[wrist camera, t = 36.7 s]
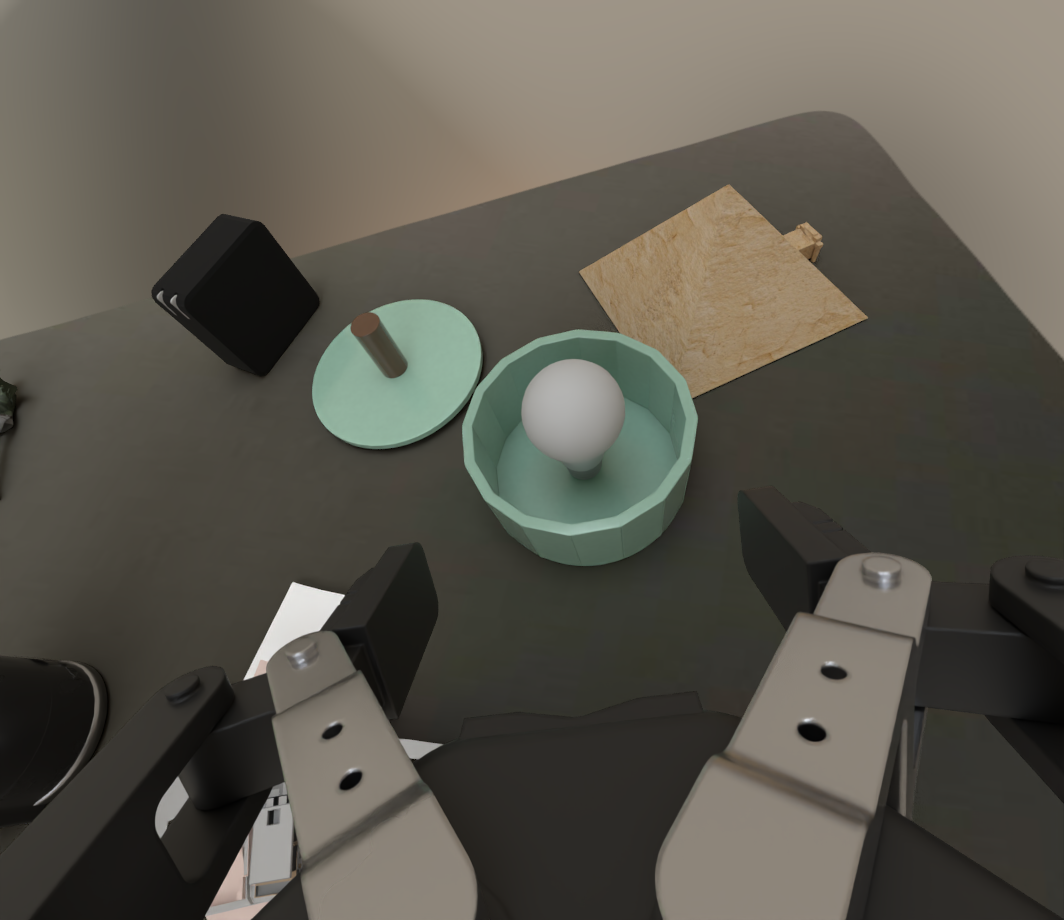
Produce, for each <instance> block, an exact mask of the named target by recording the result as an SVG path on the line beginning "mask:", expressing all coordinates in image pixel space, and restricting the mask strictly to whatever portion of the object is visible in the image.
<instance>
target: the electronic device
mask: <svg viewBox="0 0 1064 920" xmlns="http://www.w3.org/2000/svg"><path fill="white" fill-rule="evenodd" d="M152 298H153V299H154V300H155V302H156V303H157V304H158V305H159V306H161V307H162V308H163V309H164V310H165V311H166V312H168V313H169V314H170V315H171V316H172V317H173V318H175V319H176V320H177V321H178V322H179V323H180V324H182V325H183V326H184V327H185V328H186V329H187V330H189V331H190V332H191V333H192V334H193V335H194V336H196V337H197V338H198V339H199V340H200V341H201V342H203V343H204V344H205V345H206V346H207V347H208V348H210V349H211V350H212V351H213V352H214V353H215V354H216V355H218V356H219V357H220V358H221V359H222V360H223V361H225V362H226V363H227V364H229V365H232V366H234V367H237V368H240V369H243V370H246V371H248V372H251V373H254V374H257V375H259V376H262V375H266V374H267V373H268V372H269V371H270V370H271V368H272V367H273V366H274V364H275V363H276V362H277V360H278V359H279V358H280V356H281V355H282V354H283V353H284V351H285V350H286V349H287V347H288V346H289V345H290V343H291V342H292V341H293V339H294V338H295V337H296V335H297V334H298V333H299V332H300V330H301V329H302V328H303V326H304V325H305V324H306V322H307V321H308V320H309V318H310V317H311V316H312V314H313V313H314V312H315V310H316V309H317V307H318V305H319V298H318V295H317V294H316V292H315V291H314V290H313V288H312V287H311V286H310V285H309V283H308V282H307V281H306V279H305V278H304V277H303V275H302V274H301V273H300V271H299V270H298V269H297V267H296V266H295V265H294V264H293V262H292V261H291V260H290V258H289V257H288V256H287V254H286V253H285V252H284V250H283V249H282V248H281V246H280V245H279V244H278V243H277V241H276V240H275V239H274V238H273V236H272V235H271V233H270V232H269V231H268V229H267V228H266V227H265V225H263V224H262V223H261V222H259V221H254V220H250V219H245V218H240V217H235V216H231V215H226V214H221V215H220V216H218V217H217V218H216V219H215V220H214V221H213V222H212V223H211V224H210V226H209V227H208V228H207V229H206V230H205V231H204V232H203V233H202V234H201V236H199V238H198V239H197V240H196V241H195V242H194V243H193V244H192V245H191V246H190V247H189V248H188V249H187V251H186V252H185V253H184V254H183V255H182V256H181V257H180V258H179V259H178V260H177V261H176V263H174V265H173V266H172V267H171V268H170V269H169V270H168V271H167V272H166V273H165V274H164V275H163V277H162V278H161V279H160V280H159V281H158V282H157V283H156V284H155V285H154V287H153V289H152Z"/></svg>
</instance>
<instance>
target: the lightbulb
mask: <svg viewBox="0 0 1064 920" xmlns="http://www.w3.org/2000/svg"><path fill="white" fill-rule="evenodd" d="M521 416H522V423H523V426H524V429H525V431H526V434H527V436H528V438H529V439H530V441H531V442H532V444H533V445H534V446H535V447H536V448H537V449H539V450H540V451H541V452H542V453H543V454H545V455H546V456H548V457H550V458H552V459H555V460H558V461H561V462H562V463H563V464H564V465H565V466H566V467H567V469H568V471H569V473H570V474H571V475H572V476H573V477H575V478H577V479H580V480H587V479H591V478H593V477H595V476H596V475H597V474H598V473H599V471H600V469H601V466H602V458H603V456H604V452H605V451H607V450H608V449H609V448H610V447H611V446H612V445H613V444H614V442H615V441H616V439H617V438H618V436H619V434H620V432H621V429H622V427H623V424H624V419H625V401H624V397H623V394H622V391H621V389H620V387H619V385H618V383H617V382H616V380H615V379H614V378H613V377H612V376H611V375H610V374H609V372H608V371H606V370H605V369H604V368H602V367H601V366H599V365H597V364H595V363H592V362H589V361H586V360H581V359H566V360H562V361H558V362H555V363H553V364H550V365H549V366H547V367H545V368H544V369H542V370H541V371H540V372H539V373H538V374H537V375H536V376H535V377H534V378H533V379H532V380H531V382H530V383H529V385H528V387H527V389H526V391H525V394H524V397H523V401H522V409H521Z"/></svg>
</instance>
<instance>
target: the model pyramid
mask: <svg viewBox="0 0 1064 920" xmlns="http://www.w3.org/2000/svg"><path fill="white" fill-rule="evenodd" d="M820 240H822V236H821V235H820V234H818V232H817V231H816V230H815V229H813V228H812V227H811V226H810V225H809V224H808V223H807V222H806V223H804V224H801V225H798V226H797V227H796V230H795V231H793V232H790V233H787V234H786V235H782V234H781V233H780V232H779V231H777V230H776V229H775V228H774V227H773V226H772V225H771V224H770V223H769V222H768V221H767V220H766V219H765V218H764V217H763V216H762V215H761V214H760V213H759V212H758V211H757V210H756V209H755V208H754V207H753V206H751V205H750V204H749V203H748V202H747V201H746V200H745V199H744V198H743V197H742V196H741V195H740V194H739V193H738V192H737V191H736V190H734V189H733V188H732V187H731V186H730V185H729V184H728V185H727V186H725V187H723V188H721V189H720V190H718V191H716V192H715V193H713V194H711V195H709V196H708V197H706V198H704V199H703V200H701V201H699V202H697V203H696V204H694V205H692V206H691V207H689V208H687V209H685V210H684V211H682V212H680V213H679V214H677V215H675V216H673V217H672V218H670V219H668V220H667V221H665V222H663V223H661V224H660V225H658V226H656V227H655V228H653V229H651V230H649V231H648V232H646V233H644V234H643V235H641V236H639V237H637V238H636V239H634V240H632V241H631V242H629V243H627V244H625V245H624V246H622V247H620V248H619V249H617V250H615V251H613V252H612V253H610V254H608V255H607V256H605V257H603V258H601V259H600V260H598V261H596V262H595V263H593V264H591V265H589V266H588V267H586V268H584V269H583V270H581V271H579V273H580V274H581V276H582V277H583V279H584V280H585V282H586V283H587V285H588V286H589V288H590V289H591V291H592V292H593V294H594V295H595V297H596V298H597V300H598V301H599V303H600V304H601V306H602V307H603V309H604V310H605V312H606V313H607V315H608V316H609V318H610V319H611V321H612V322H613V324H614V325H615V327H616V328H617V329H618V331H619V332H620V333H621V334H623V335H626V336H628V337H630V338H632V339H634V340H637V341H639V342H641V343H643V344H645V345H648V346H650V347H652V348H654V349H656V350H658V351H659V352H660V353H661V354H662V355H663V356H664V357H665V358H666V359H667V360H668V361H669V363H670V364H671V365H672V366H673V367H674V368H675V369H676V370H677V371H678V372H679V373H680V374H681V375H682V376H683V377H684V378H685V380H686V382H687V385H688V388H689V391H690V394H691V397H692V398H694V397H696V396H698V395H700V394H702V393H705V392H707V391H709V390H711V389H713V388H716V387H718V386H720V385H722V384H724V383H727V382H729V381H731V380H733V379H735V378H737V377H740V376H742V375H744V374H746V373H748V372H751V371H753V370H755V369H757V368H759V367H762V366H764V365H766V364H768V363H770V362H773V361H775V360H777V359H779V358H781V357H784V356H786V355H788V354H790V353H792V352H795V351H797V350H799V349H801V348H803V347H805V346H808V345H810V344H812V343H814V342H816V341H819V340H821V339H823V338H825V337H827V336H830V335H832V334H834V333H836V332H838V331H841V330H843V329H845V328H847V327H849V326H852V325H854V324H856V323H858V322H860V321H862V320H865V319H867V318H868V317H867V316H866V315H865V314H864V313H863V312H862V311H861V310H860V309H859V308H857V307H856V306H855V305H854V304H853V303H852V302H851V301H850V300H849V299H848V298H847V297H846V296H845V295H844V294H843V293H842V292H841V291H840V290H839V289H838V288H837V287H836V286H835V285H834V284H833V283H831V282H830V281H829V280H828V279H827V278H826V277H825V276H824V275H823V274H822V273H821V272H820V271H819V270H818V269H817V268H816V267H815V266H814V265H813V264H812V263H811V262H815V261H816V258H817V256H818V254H819V251H820V249H821V248H822V246H823V243H822V242H820ZM810 258H811V260H810V261H811V262H810V261H809V260H808V259H810Z"/></svg>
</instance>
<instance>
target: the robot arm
mask: <svg viewBox="0 0 1064 920" xmlns="http://www.w3.org/2000/svg"><path fill="white" fill-rule="evenodd" d="M738 511H739V522H740V533H741V544H742V553H743V558H744V562H745V565H746V568H747V571H748V573H749V575H750V577H751V578H752V580H753V581H754V583H755V584H756V586H757V587H758V589H759V590H760V592H761V593H762V595H763V596H764V598H765V599H766V601H767V602H768V604H769V606H770V607H771V609H772V610H773V612H774V613H775V615H776V616H777V618H778V619H779V621H780V622H781V624H782V625H783V627H784V628H785V630H786V631H787V632H786V634H785V636H784V638H783V640H782V642H781V644H780V646H779V648H778V650H777V651H776V653H775V655H774V657H773V659H772V661H771V663H770V665H769V667H768V669H767V671H766V673H765V675H764V677H763V679H762V681H761V683H760V685H759V687H758V688H757V690H756V692H755V694H754V696H753V698H752V700H751V702H750V704H749V706H748V708H747V710H746V712H745V714H744V716H743V718H740V717H737V716H733V715H730V714H726V713H720V712H715V711H708V710H703V708H702V705H701V702H700V699H699V696H698V693H697V691H693V692H684V693H676V694H667V695H659V696H650V697H642V698H636V699H633V700H630V701H627V702H624V703H621V704H618V705H615V706H612V707H609V708H605V709H602V710H599V711H596V712H593V713H590V714H587V715H584V716H580V717H566V716H556V715H545V714H535V713H525V712H514V713H506V714H497V715H488V716H480V717H471V718H464V721H463V726H462V730H461V734H460V738H458V739H455V740H453V741H450V742H448V743H446V744H444V745H441V746H439V747H438V748H436V749H434V750H432V751H430V752H429V753H427V754H425V755H424V756H422V757H421V758H420V759H418V760H417V761H415V762H414V763H413V764H412V762H411V760H410V758H409V756H408V755H407V753H406V751H405V749H404V747H403V746H402V744H401V742H400V740H399V738H398V736H397V735H396V733H395V731H394V729H393V727H392V726H391V724H390V722H389V720H390V719H398V718H399V715H400V713H401V710H402V708H403V705H404V702H405V700H406V697H407V695H408V692H409V690H410V687H411V684H412V682H413V679H414V677H415V674H416V672H417V669H418V667H419V664H420V661H421V659H422V656H423V654H424V651H425V649H426V646H427V644H428V641H429V638H430V636H431V633H432V631H433V628H434V626H435V623H436V620H437V617H438V599H437V594H436V590H435V587H434V584H433V580H432V577H431V574H430V570H429V567H428V564H427V560H426V557H425V553H424V550H423V548H422V546H421V545H420V544H419V543H418V542H416V543H409V544H403V545H397V546H391V547H389V548H388V549H387V550H386V552H385V553H384V554H383V556H382V557H381V559H380V560H379V562H378V563H377V565H376V566H375V567H374V568H371V569H370V570H368V571H367V572H366V573H365V574H363V575H362V576H361V577H359V578H358V579H357V580H356V581H355V582H354V584H353V585H352V587H351V588H350V589H349V591H348V592H347V593H348V594H347V595H345V596H344V598H343V599H342V600H341V602H340V605H338V606H337V607H336V609H335V610H334V611H333V613H332V614H331V615H330V617H329V618H328V620H327V621H326V622H325V624H324V625H323V626H322V628H321V629H320V631H317V632H312V633H309V634H306V635H303V636H301V637H298V638H296V639H294V640H292V641H291V642H289V643H287V644H286V645H284V646H283V647H282V648H280V649H279V650H278V651H277V652H276V653H275V654H274V655H273V656H272V657H271V658H270V660H269V661H268V663H267V666H266V673H264V674H261V675H258V676H255V677H252V678H249V679H246V680H243V681H240V682H238V683H235V684H232V685H231V684H230V682H229V680H228V678H227V675H226V673H225V671H224V670H223V668H221V667H217V666H210V667H204V668H200V669H197V670H194V671H191V672H189V673H187V674H185V675H182V676H180V677H179V678H177V679H175V680H173V681H172V682H170V683H168V684H167V685H166V686H164V687H163V688H161V689H160V690H159V691H158V692H156V693H155V694H154V695H153V696H152V697H151V698H150V699H149V700H148V701H147V702H146V703H145V704H144V705H143V707H142V708H141V709H140V710H139V711H138V712H137V713H136V714H135V715H134V716H133V717H132V718H131V719H130V720H129V721H128V722H127V723H126V724H125V725H124V726H123V727H122V728H121V729H120V730H119V732H118V733H117V734H116V735H115V736H114V737H113V738H112V739H111V740H110V741H109V742H108V743H107V744H106V745H105V746H104V747H103V748H102V749H101V750H100V751H99V752H98V753H97V754H96V755H95V757H94V758H93V759H92V760H91V761H90V762H89V763H88V761H89V760H90V758H91V756H92V755H93V753H94V751H95V749H96V747H97V744H98V742H99V740H100V737H101V734H102V731H103V728H104V724H105V720H106V714H107V692H106V688H105V684H104V682H103V679H102V677H101V676H100V674H99V673H98V672H97V671H96V670H95V669H94V668H93V667H91V666H90V665H88V664H85V663H82V662H75V661H56V660H38V659H28V658H19V657H8V656H0V828H1V827H7V826H13V825H19V824H24V823H30V822H31V823H30V824H29V825H28V826H27V827H26V828H25V829H24V831H23V832H22V833H21V834H20V835H19V836H18V837H17V838H16V839H15V840H14V841H13V842H12V843H11V844H10V845H9V846H8V847H7V848H6V849H5V850H4V851H3V852H2V853H1V855H0V920H203V919H204V917H205V915H206V913H207V912H208V910H209V908H210V906H211V904H212V902H213V900H214V898H215V896H216V895H217V893H218V891H219V889H220V887H221V885H222V883H223V881H224V880H225V878H226V876H227V874H228V872H229V870H230V868H231V866H232V864H233V863H234V861H235V859H236V857H237V855H238V853H239V851H240V849H241V848H242V846H243V844H244V842H245V840H246V838H247V836H248V834H249V832H250V831H251V829H252V827H253V825H254V823H255V821H256V819H257V817H258V816H259V814H260V812H261V810H262V808H263V806H264V804H265V802H266V800H267V799H268V797H269V795H270V793H271V790H272V788H273V787H274V786H276V785H279V784H281V783H284V782H285V785H286V790H287V795H288V799H289V804H290V808H291V813H292V818H293V822H294V827H295V832H296V836H297V841H298V845H299V850H300V855H301V860H302V868H301V870H300V872H299V873H298V874H297V875H296V876H295V877H294V878H293V879H292V880H291V881H290V882H289V883H288V884H287V885H286V886H285V887H284V888H283V889H282V890H281V891H280V892H279V893H278V894H277V895H276V896H274V897H273V898H272V899H271V900H270V901H269V902H268V903H267V904H266V905H265V906H264V907H263V908H262V909H261V910H260V911H259V912H258V913H257V914H256V915H255V916H254V917H253V918H252V919H251V920H1064V919H1063V918H1061V917H1059V916H1058V915H1056V914H1055V913H1053V912H1052V911H1050V910H1049V909H1047V908H1045V907H1044V906H1042V905H1041V904H1039V903H1038V902H1036V901H1035V900H1033V899H1032V898H1030V897H1028V896H1027V895H1025V894H1024V893H1022V892H1021V891H1019V890H1018V889H1016V888H1015V887H1013V886H1011V885H1010V884H1008V883H1007V882H1005V881H1004V880H1002V879H1001V878H999V877H997V876H996V875H994V874H993V873H991V872H990V871H988V870H987V869H985V868H984V867H982V866H980V865H979V864H977V863H976V862H974V861H973V860H971V859H970V858H968V857H967V856H965V855H963V854H962V853H960V852H959V851H957V850H956V849H954V848H953V847H951V846H950V845H948V844H946V843H945V842H943V841H942V840H940V839H939V838H937V837H936V836H934V835H932V834H931V833H929V832H928V831H926V830H925V829H923V828H922V827H920V826H919V825H917V824H915V823H914V822H912V813H913V802H914V793H915V786H916V780H917V774H918V768H919V761H920V755H921V749H922V742H923V736H924V730H925V724H926V717H927V707H928V708H936V709H944V710H952V711H960V712H968V713H976V714H984V715H985V716H986V718H987V719H988V720H989V721H990V722H991V724H992V725H993V726H994V727H995V728H996V729H997V730H998V731H999V732H1000V733H1001V735H1002V736H1003V737H1004V738H1005V739H1006V740H1007V741H1008V742H1009V743H1010V745H1011V746H1012V747H1013V748H1014V749H1015V750H1016V751H1017V752H1018V753H1019V755H1020V756H1021V757H1022V758H1023V759H1024V760H1025V761H1026V762H1027V763H1028V764H1029V766H1030V767H1031V768H1032V769H1033V770H1034V771H1035V772H1036V773H1037V774H1038V776H1039V777H1040V778H1041V779H1042V780H1043V781H1044V782H1045V783H1046V784H1047V786H1048V787H1049V788H1050V789H1051V790H1052V791H1053V792H1054V793H1055V794H1056V795H1057V797H1058V798H1059V799H1060V800H1061V801H1062V802H1063V803H1064V560H1063V559H1058V558H1052V557H1044V556H1014V557H1008V558H1004V559H1001V560H999V561H996V562H995V563H994V564H993V565H992V566H991V571H990V584H979V583H952V582H938V581H931V575H930V573H929V572H928V570H927V569H926V568H924V567H923V566H922V565H920V564H918V563H917V562H915V561H912V560H910V559H907V558H904V557H901V556H897V555H892V554H885V553H872V552H871V551H870V550H868V549H867V548H866V547H865V546H864V545H862V544H861V543H860V542H859V541H858V540H856V539H855V538H854V537H853V536H852V535H851V534H849V533H848V532H847V531H846V530H844V531H843V528H842V527H841V526H840V525H839V524H837V523H836V522H835V521H834V522H833V519H831V518H830V517H829V516H828V515H827V514H826V513H824V512H823V511H822V510H821V509H819V508H816V507H814V506H811V505H808V504H806V503H803V502H793V503H791V502H790V501H789V500H788V499H787V498H785V497H784V496H783V495H782V494H781V493H780V492H779V491H778V490H777V489H776V488H775V487H773V486H766V487H760V488H754V489H747V490H741V491H739V493H738ZM20 657H22V656H20ZM31 658H34V657H31ZM43 659H45V658H43ZM87 763H88V764H87ZM86 764H87V765H86ZM177 777H179V779H180V781H181V783H182V785H183V787H184V789H185V791H186V792H187V794H188V796H189V798H188V799H187V801H186V802H185V803H184V805H183V806H182V808H181V809H180V811H179V812H178V814H177V815H176V816H175V818H174V819H173V821H172V822H171V824H170V825H169V827H168V828H167V829H166V831H165V832H164V834H163V835H162V837H161V838H160V837H159V835H158V833H157V831H156V827H155V817H156V811H157V808H158V805H159V803H160V801H161V799H162V797H163V796H164V794H165V793H166V792H167V790H168V789H169V788H170V786H171V785H172V784H173V782H174V781H175V779H176V778H177ZM50 801H51V802H50ZM48 802H50V803H49V804H48V806H47V807H46V808H45V809H44V810H43V808H44V807H45V805H46V804H47V803H48ZM42 810H43V811H42ZM41 811H42V812H41Z"/></svg>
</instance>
